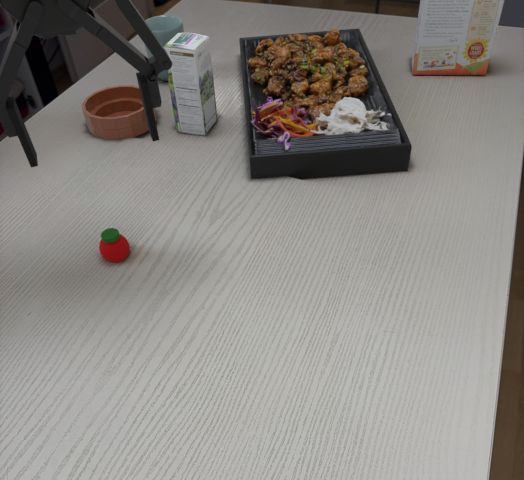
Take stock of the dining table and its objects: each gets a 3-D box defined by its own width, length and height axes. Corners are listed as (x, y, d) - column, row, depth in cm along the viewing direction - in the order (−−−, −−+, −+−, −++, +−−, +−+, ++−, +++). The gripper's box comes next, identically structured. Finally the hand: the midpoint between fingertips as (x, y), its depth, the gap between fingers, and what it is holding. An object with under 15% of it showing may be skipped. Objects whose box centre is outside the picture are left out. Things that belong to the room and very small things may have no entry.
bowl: (75, 135, 97) (67, 110, 94) (117, 104, 104) (111, 80, 101) (129, 149, 93) (123, 124, 90) (169, 116, 100) (165, 92, 97)
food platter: (407, 170, 85) (418, 106, 77) (251, 183, 85) (246, 120, 77) (357, 51, 114) (362, -5, 106) (240, 60, 114) (236, 5, 106)
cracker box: (482, 63, 108) (514, -67, 91) (485, 76, 104) (520, -56, 88) (410, 62, 109) (429, -65, 93) (410, 75, 106) (431, -55, 89)
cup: (144, 77, 111) (133, 23, 103) (175, 64, 114) (166, 11, 106) (166, 89, 107) (156, 34, 99) (197, 75, 110) (190, 21, 103)
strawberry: (97, 263, 75) (88, 238, 71) (115, 246, 77) (107, 221, 74) (120, 272, 73) (112, 246, 70) (138, 254, 76) (130, 228, 72)
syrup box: (189, 117, 100) (175, 31, 88) (219, 120, 98) (209, 34, 87) (176, 132, 96) (160, 45, 85) (206, 136, 95) (194, 48, 84)
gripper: (-147, -54, 41) (-20, 190, 57) (177, -100, 45) (209, 140, 61) (-133, -78, 45) (-19, 154, 62) (159, -117, 49) (194, 110, 66)
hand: (95, 148), depth 61 cm, fingers open, 13 cm apart
